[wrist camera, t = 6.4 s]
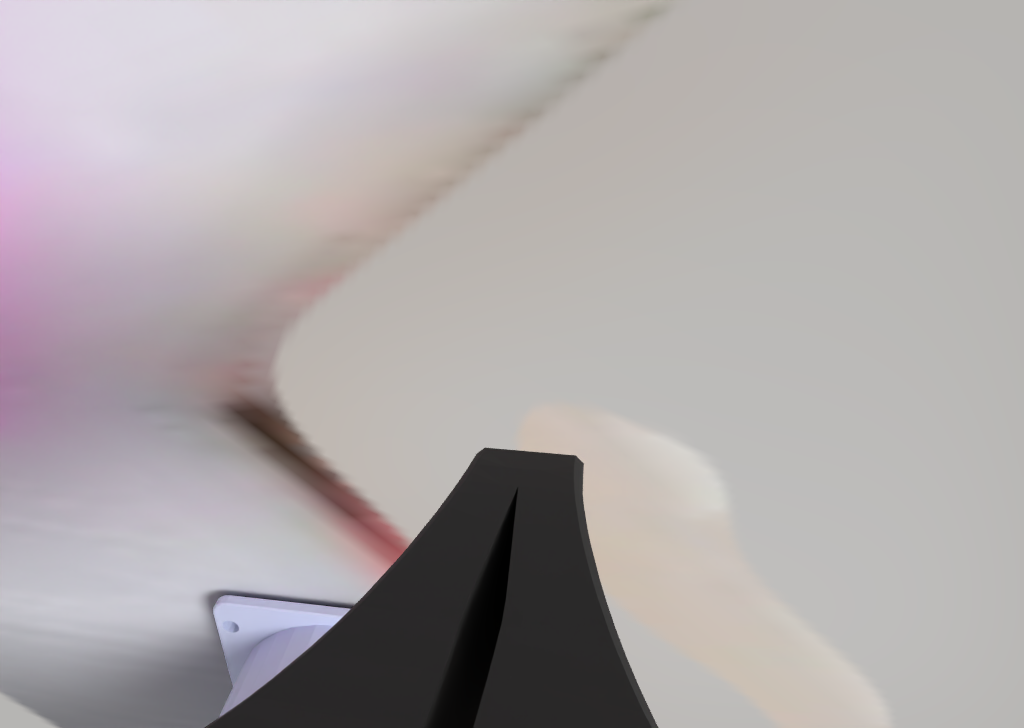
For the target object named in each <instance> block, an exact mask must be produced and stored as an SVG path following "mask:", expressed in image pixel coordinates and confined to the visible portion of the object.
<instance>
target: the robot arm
mask: <svg viewBox="0 0 1024 728" xmlns="http://www.w3.org/2000/svg"><path fill="white" fill-rule="evenodd" d="M583 466H584V463H583V462H582V461H580V460H579V459H578V458H577V457H576V456H574V455H562V454H551V453H539V452H528V451H516V450H505V449H493V448H484V449H483V450H481V451H480V452H479V453H477V454H476V456H475V458H474V459H473V461H472V462H471V464H470V466H469V467H468V469H467V470H466V472H465V473H464V475H463V476H462V478H461V479H460V480H459V482H458V484H457V485H456V486H455V488H454V489H453V491H452V492H451V493H450V495H449V496H448V497H447V499H446V500H445V501H444V503H443V504H442V505H441V507H440V508H439V509H438V511H437V512H436V513H435V515H434V516H433V517H432V518H431V520H430V521H429V522H428V523H427V524H426V526H425V527H424V528H423V529H422V531H421V532H420V533H419V534H418V536H417V537H416V538H415V539H414V541H413V542H412V543H411V544H410V545H409V547H408V548H407V549H406V550H405V551H404V553H403V554H402V555H401V556H400V557H399V558H398V559H397V561H396V562H395V563H394V564H393V565H392V566H391V567H390V568H389V569H388V570H387V571H386V573H385V574H384V575H383V576H382V577H381V578H380V579H379V580H378V581H377V582H376V583H375V584H374V586H373V587H372V588H371V589H370V590H369V591H368V592H367V593H366V594H365V595H364V596H363V597H362V598H361V599H360V600H359V601H358V602H357V603H356V604H355V605H354V606H353V607H352V608H351V609H349V608H340V607H331V606H322V605H313V604H304V603H295V602H286V601H277V600H268V599H259V598H250V597H241V596H232V595H225V596H222V597H219V599H218V600H217V602H216V604H215V605H214V607H213V614H214V618H215V622H216V626H217V629H218V633H219V637H220V641H221V644H222V648H223V652H224V656H225V659H226V663H227V667H228V671H229V674H230V678H231V682H232V685H233V688H232V690H231V692H230V694H229V697H228V699H227V701H226V703H225V705H224V707H223V709H222V711H221V713H220V715H219V718H218V719H216V720H215V721H214V722H212V723H211V724H209V725H208V726H206V727H205V728H658V726H657V724H656V723H655V720H654V718H653V716H652V714H651V712H650V709H649V708H648V705H647V703H646V701H645V699H644V697H643V695H642V692H641V690H640V688H639V686H638V684H637V681H636V679H635V676H634V674H633V672H632V669H631V667H630V665H629V662H628V660H627V658H626V655H625V652H624V650H623V647H622V645H621V642H620V639H619V637H618V634H617V631H616V629H615V626H614V623H613V620H612V617H611V614H610V611H609V608H608V605H607V602H606V599H605V596H604V592H603V589H602V586H601V582H600V579H599V575H598V571H597V567H596V563H595V560H594V556H593V552H592V548H591V544H590V539H589V534H588V530H587V524H586V517H585V511H584V504H583V494H582V492H583Z"/></svg>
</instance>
